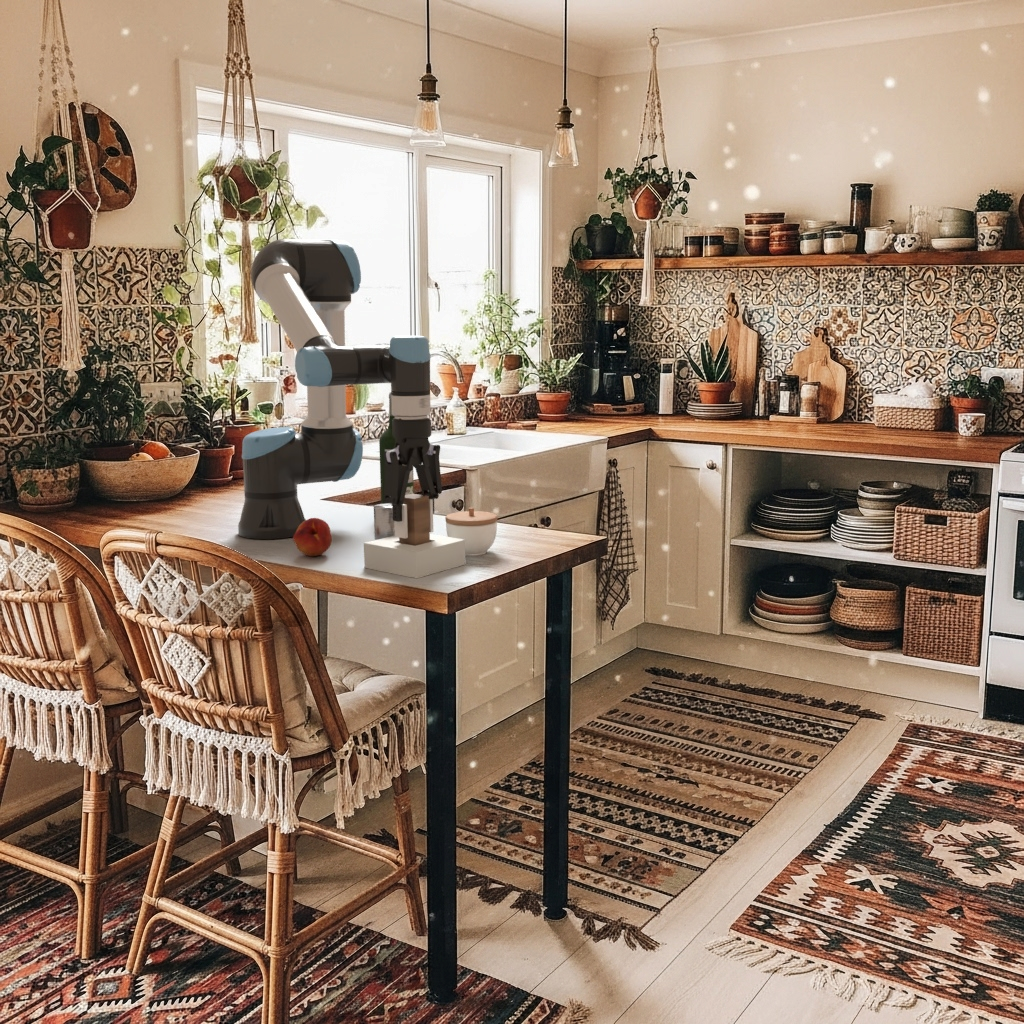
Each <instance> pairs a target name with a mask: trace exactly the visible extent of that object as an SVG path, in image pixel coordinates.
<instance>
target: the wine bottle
mask: <svg viewBox="0 0 1024 1024" xmlns="http://www.w3.org/2000/svg"><path fill="white" fill-rule="evenodd" d="M388 399H389V400H388V401H389V402H388V403H389V404H388V406H389V409H388V413H389V415H388V426H387V429H385V430H384V431H383V433H382V434H381V435H380V437H379V442H378V444H379V473H380V474H379V475H380V476H379V477H380V478H379V479H380V504H388V502H385V501H384V478H385V461H384V456H383V453H384V451H391V450H393V449H394V446H395V443H396V440H395V438H394V437H393V435H392V420H393V418H395V416H393V415H392V403H391V391H390V392H389V394H388ZM402 465H403V464H402ZM404 466H406V465H404ZM414 483H415V482H414V468H413V469H412V471H410V475H409V480H408V484H407V489H406V494H405V495H409V494H415V489H414ZM397 498H398V496H397Z"/></svg>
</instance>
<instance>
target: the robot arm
mask: <svg viewBox="0 0 1024 1024" xmlns="http://www.w3.org/2000/svg"><path fill="white" fill-rule="evenodd" d="M361 271H362V270H361V265H360V262H359V258H358V255H357V253H356V252H355V249H354V247H353V246H352V245H351V244H350V243H349V242H347V241H345V240H338V239H330V238H326V239H324V238H322V239H321V238H319V239H318V238H317V239H315V238H310V239H307V238H305V239H304V238H280V239H276V240H273V241H271V242H269V243H267V244H266V245H265V246H263V247H262V248H261V249H260V250H259V252H257V254H256V255H255V258H254V259H253V261H252V265H251V268H250V281H251V285H252V287H253V290H254V292H255V293H256V295H257V297H258V298H259V299H260V300H261V301H262V302H264V303H266V304H267V305H268V306H269V308H270V309H271V311H272V312H273V314H274V316H275V317H276V319H277V320H278V322H279V324H280V325H281V327H282V329H283V331H284V333H285V334H286V336H287V337H288V339H289V341H290V342H291V343H292V345H293V348H294V349H295V351H296V354H295V359H294V369H295V373H296V379H297V380H298V381H299V383H300V384H301V385H302V386H305V387H307V388H306V390H307V391H306V393H307V394H306V395H307V399H306V400H307V416H306V418H304V419H303V421H302V422H301V425H300V427H301V429H300V432H296V430H295V428H294V427H292V426H280V427H279V426H278V427H271V428H264V429H259V430H256V431H252V432H250V433H248V434H247V435H245V436H244V437H243V439H242V446H241V447H242V448H241V451H242V453H241V459H242V469H243V470H242V471H243V473H242V474H243V488H244V489H243V491H244V502H243V505H242V506H243V507H242V511H241V514H240V517H239V518H240V519H239V522H238V525H237V527H238V531H237V532H238V536H239V537H242V538H246V539H251V540H252V539H254V540H255V539H256V540H275V539H276V540H277V539H284V538H285V539H286V538H287V539H288V538H293V537H294V535H295V533H296V531H297V529H298V527H299V525H300V524H301V523H303V522H304V521H306V520H307V519H306V518H305V515H304V511H303V509H302V506H301V504H300V503H301V502H300V501H299V497H298V485H306V484H307V485H308V484H313V483H314V484H315V483H326V482H334V483H335V482H339V481H344V480H349V479H352V478H353V477H355V476H356V475H357V472H358V471H359V469H360V468H361V464H362V461H363V454H364V453H363V452H364V450H363V449H364V447H363V442H362V436H361V434H360V432H359V431H358V429H355V428H354V423H353V422H352V421H351V420H350V418H349V417H348V416H347V408H346V407H347V402H346V401H347V399H346V398H347V395H346V394H347V391H346V386H347V385H348V386H350V385H371V384H372V385H373V384H390V386H391V387H390V392H391V403H392V415H393V416H395V418H393V420H392V435H393V437H394V438H395V440H396V443H395V446H394V449H393V450H391V451H384V453H383V456H384V461H385V478H384V501H385V502H388V503H389V504H392V510H393V521H395V537H400V538H408V527H407V505H405V504H403V503H404V499H405V494H406V489H407V484H408V480H409V475H410V471H412V469H413V470H414V469H415V471H416V475H417V480H418V482H419V487H420V489H421V493H422V495H426V496H429V529H430V533H433V532H434V513H435V500H437V499H439V496H440V495H441V494H442V492H443V487H442V476H441V475H442V473H441V465H440V454H441V453H440V452H441V446H440V444H434V443H430V441H429V438H430V437H431V436H432V419H431V418H430V417H428V416H430V415H431V414H432V413H431V411H432V410H431V407H432V406H431V353H430V344H429V343H430V341H429V339H428V338H427V337H426V336H425V335H424V336H423V335H394V336H392V337H391V338H390V341H389V343H376V344H371V345H369V344H367V345H346V335H345V333H346V330H345V325H346V323H345V322H346V321H345V310H346V308H347V307H349V305H350V304H351V303H352V295H354V294H355V293H357V292H358V291H359V289H360V288H361V287H360V284H361V282H362V272H361ZM402 464H403V465H402ZM404 465H406V466H404ZM397 496H398V498H397Z"/></svg>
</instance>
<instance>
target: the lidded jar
mask: <svg viewBox="0 0 1024 1024" xmlns="http://www.w3.org/2000/svg"><path fill="white" fill-rule="evenodd" d="M445 522H446V523H445V527H446V529H445V530H446V537H452V538H457V539H463V540H465V556H467V557H468V556H471V557H472V556H473V557H474V556H481V555H485V554H487V551H489V549H490V548H491V547H492V546H493V545H494V543H495V541H496V537H497V530H498V515H497V514H496V513H493V512H490V511H482V510H479V511H478V510H475V508H474V507H468V511H467V510H464V511H456V512H451V513H448V514H447V515H446V516H445Z"/></svg>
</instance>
